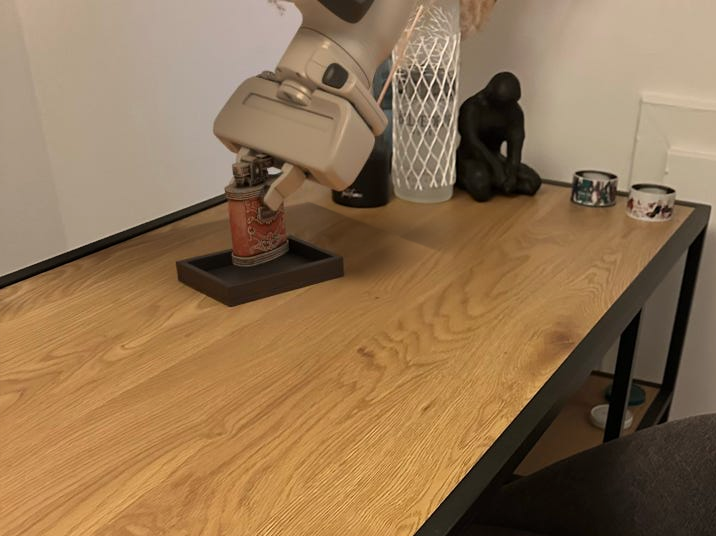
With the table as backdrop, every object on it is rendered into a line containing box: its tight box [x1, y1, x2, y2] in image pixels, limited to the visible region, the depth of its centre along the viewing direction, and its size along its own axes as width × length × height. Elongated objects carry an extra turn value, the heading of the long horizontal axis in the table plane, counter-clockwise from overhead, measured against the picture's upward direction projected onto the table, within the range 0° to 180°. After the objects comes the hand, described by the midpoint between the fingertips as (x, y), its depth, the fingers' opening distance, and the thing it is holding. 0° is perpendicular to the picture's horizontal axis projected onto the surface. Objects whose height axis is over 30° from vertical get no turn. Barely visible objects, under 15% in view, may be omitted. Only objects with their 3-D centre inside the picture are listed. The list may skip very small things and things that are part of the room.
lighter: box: [224, 153, 289, 266], centre depth 100 cm, size 8×3×10 cm, turn 152°
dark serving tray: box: [175, 234, 345, 308], centre depth 104 cm, size 10×16×2 cm, turn 137°
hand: (251, 200), depth 99 cm, fingers closed on lighter, 4 cm apart
